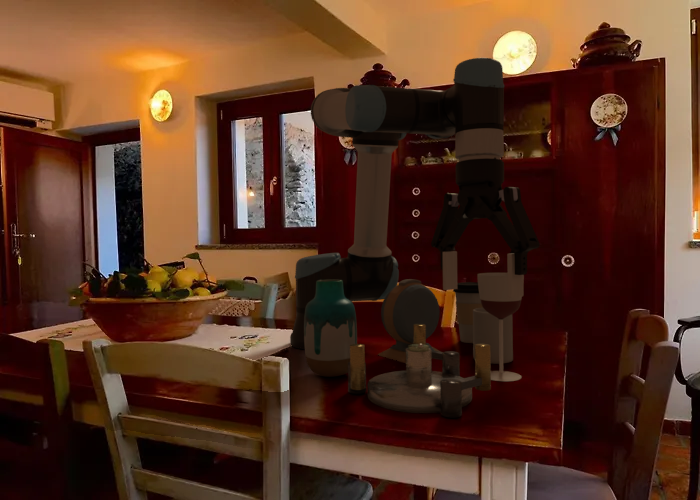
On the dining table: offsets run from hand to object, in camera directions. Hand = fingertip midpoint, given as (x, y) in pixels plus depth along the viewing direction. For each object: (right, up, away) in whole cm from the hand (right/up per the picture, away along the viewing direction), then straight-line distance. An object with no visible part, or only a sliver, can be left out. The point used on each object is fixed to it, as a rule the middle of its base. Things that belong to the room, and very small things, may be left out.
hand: (480, 293), depth 82 cm
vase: (-25, -19, +21) cm, 37 cm away
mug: (+11, -18, +33) cm, 39 cm away
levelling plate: (-9, -18, +7) cm, 22 cm away
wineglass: (+9, -18, +18) cm, 27 cm away
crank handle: (-4, -18, +17) cm, 25 cm away
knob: (-20, -18, +6) cm, 28 cm away
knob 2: (-3, -18, -2) cm, 18 cm away
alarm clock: (-7, -18, +37) cm, 42 cm away
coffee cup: (+11, -17, +51) cm, 55 cm away
